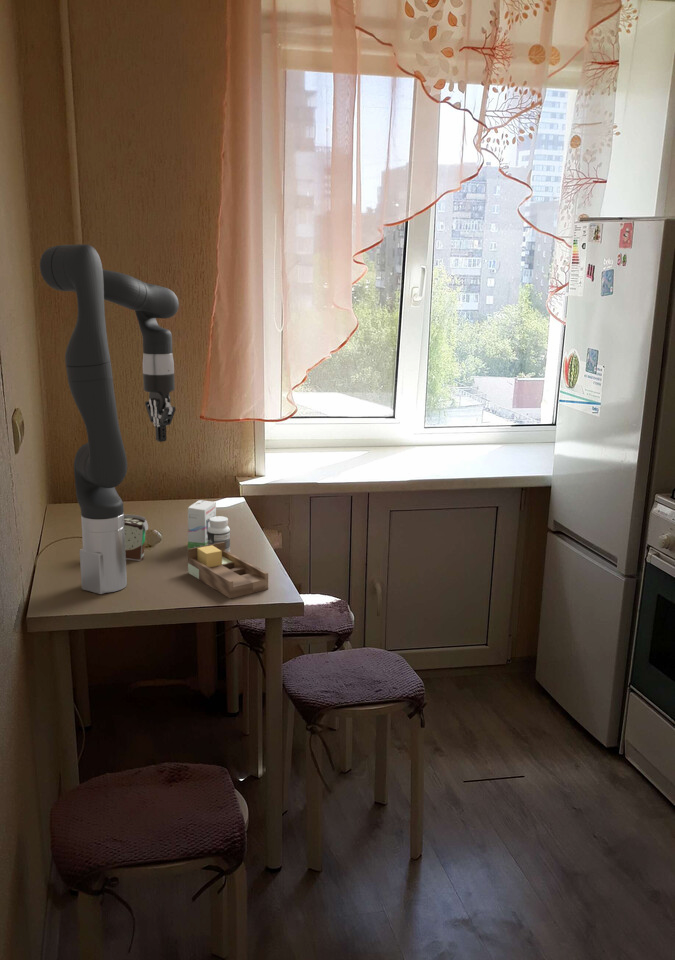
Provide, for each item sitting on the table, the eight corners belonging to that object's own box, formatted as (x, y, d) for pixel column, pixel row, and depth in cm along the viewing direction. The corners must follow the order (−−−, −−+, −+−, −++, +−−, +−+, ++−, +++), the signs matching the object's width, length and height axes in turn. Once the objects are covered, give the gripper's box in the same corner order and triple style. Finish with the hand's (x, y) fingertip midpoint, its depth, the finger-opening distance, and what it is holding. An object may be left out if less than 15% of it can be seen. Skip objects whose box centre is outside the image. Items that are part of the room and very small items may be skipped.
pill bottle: (205, 553, 213) (204, 516, 211) (227, 551, 215) (227, 514, 213) (210, 560, 208) (209, 522, 206) (232, 558, 210) (232, 520, 208)
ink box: (198, 541, 223) (197, 499, 220) (217, 543, 222) (216, 500, 219) (186, 551, 215) (185, 507, 212) (205, 553, 214) (205, 509, 211)
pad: (233, 571, 201) (232, 562, 200) (199, 579, 195) (198, 569, 195) (221, 565, 205) (221, 555, 204) (188, 572, 199) (187, 562, 199)
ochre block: (221, 564, 198) (221, 550, 197) (206, 567, 196) (206, 553, 195) (212, 558, 202) (212, 545, 201) (197, 561, 200) (197, 548, 199)
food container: (158, 554, 212) (156, 516, 210) (146, 561, 207) (145, 523, 204) (115, 549, 216) (113, 512, 213) (102, 556, 210) (100, 518, 208)
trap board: (268, 589, 190) (268, 564, 189) (230, 598, 184) (229, 572, 183) (224, 564, 205) (224, 541, 204) (188, 572, 199) (187, 548, 198)
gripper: (184, 373, 201) (186, 443, 205) (161, 368, 211) (163, 435, 215) (156, 375, 196) (158, 447, 200) (133, 369, 206) (136, 438, 211)
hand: (161, 440), depth 208 cm, fingers closed
